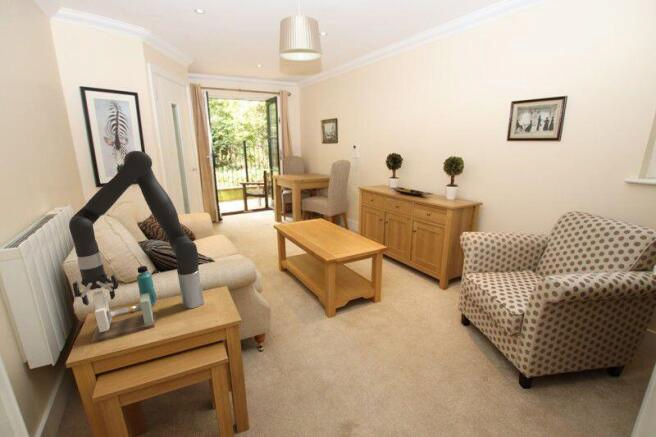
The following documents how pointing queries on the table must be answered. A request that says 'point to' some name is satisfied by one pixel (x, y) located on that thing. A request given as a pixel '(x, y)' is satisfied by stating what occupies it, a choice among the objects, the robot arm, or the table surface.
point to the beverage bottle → (146, 283)
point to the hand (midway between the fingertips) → (100, 301)
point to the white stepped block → (101, 311)
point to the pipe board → (122, 328)
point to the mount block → (146, 308)
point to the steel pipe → (123, 311)
